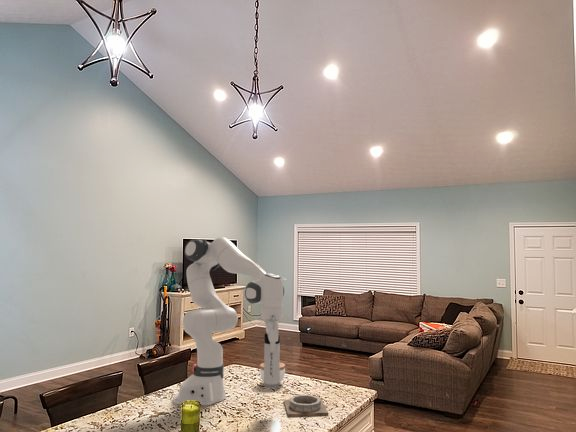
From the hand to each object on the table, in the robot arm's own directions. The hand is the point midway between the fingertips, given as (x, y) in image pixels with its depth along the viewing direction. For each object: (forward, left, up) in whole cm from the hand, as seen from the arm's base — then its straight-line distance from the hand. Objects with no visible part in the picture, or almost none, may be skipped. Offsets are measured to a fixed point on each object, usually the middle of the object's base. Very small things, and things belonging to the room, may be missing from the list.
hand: (271, 348), depth 172 cm
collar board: (+14, +3, -25) cm, 29 cm away
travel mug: (0, 0, -15) cm, 14 cm away
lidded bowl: (+3, +38, -25) cm, 46 cm away
